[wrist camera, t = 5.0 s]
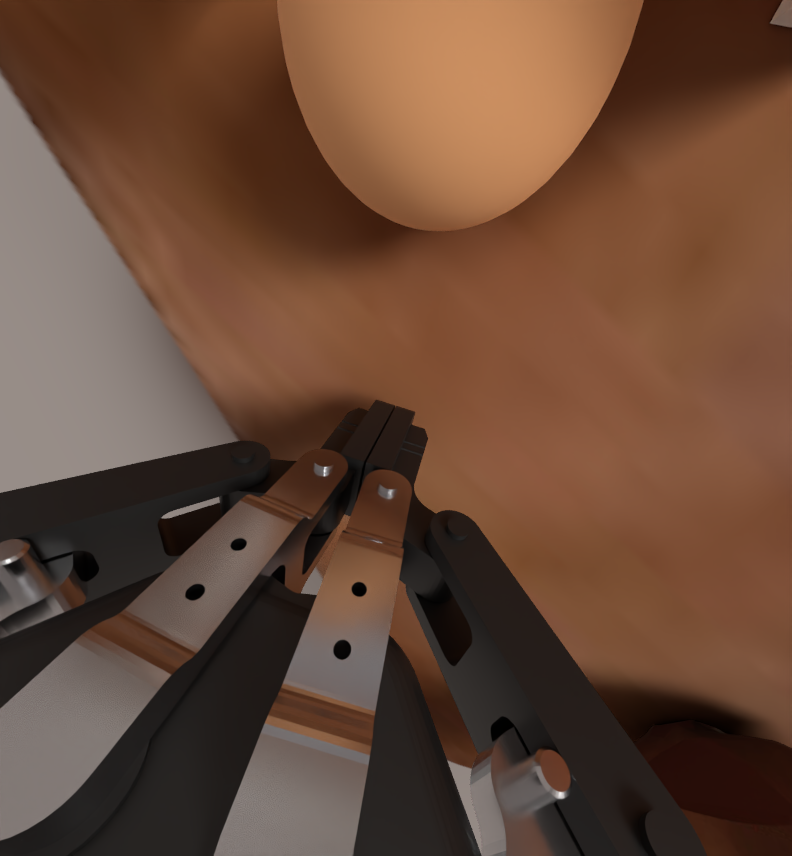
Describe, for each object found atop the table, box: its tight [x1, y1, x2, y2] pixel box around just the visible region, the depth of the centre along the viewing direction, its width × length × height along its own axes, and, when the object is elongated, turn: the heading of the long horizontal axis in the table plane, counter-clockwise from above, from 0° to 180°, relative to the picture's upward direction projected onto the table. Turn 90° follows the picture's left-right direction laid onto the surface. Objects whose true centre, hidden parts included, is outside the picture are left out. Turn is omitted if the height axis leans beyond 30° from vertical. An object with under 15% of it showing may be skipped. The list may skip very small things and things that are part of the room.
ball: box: [277, 0, 644, 231], centre depth 6 cm, size 6×6×6 cm
